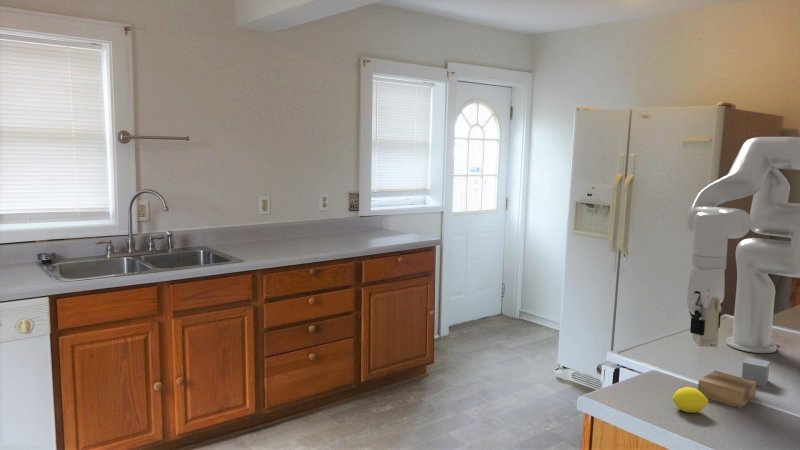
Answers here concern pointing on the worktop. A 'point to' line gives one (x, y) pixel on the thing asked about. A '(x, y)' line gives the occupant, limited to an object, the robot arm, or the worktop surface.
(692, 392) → the lemon
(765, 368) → the grey block
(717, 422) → the worktop surface
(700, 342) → the skincare box
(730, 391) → the oak block
